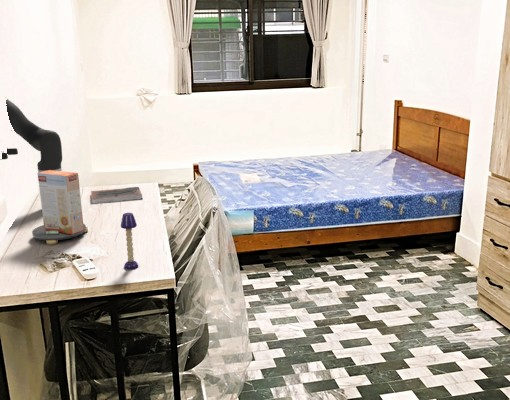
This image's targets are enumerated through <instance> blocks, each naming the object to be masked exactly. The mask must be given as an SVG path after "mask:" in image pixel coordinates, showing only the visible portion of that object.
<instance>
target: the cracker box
mask: <svg viewBox="0 0 510 400" xmlns="http://www.w3.org/2000/svg"><path fill="white" fill-rule="evenodd" d="M37 180H38V187H39V196H40V197H39V198H40V204H41V212H42V220H43V225H44V229H45V230H49V231H59V232H61V233H66V234H71V235H72V234H75V233H78V232H81V231H83V230H84V226H83V224H84V218H83V209H82V208H83V207H82V198H81V190H80V179H79V172H71V171H63V170H62V171H54V170H47V171H43V172H39V173H38V172H37Z"/></svg>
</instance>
